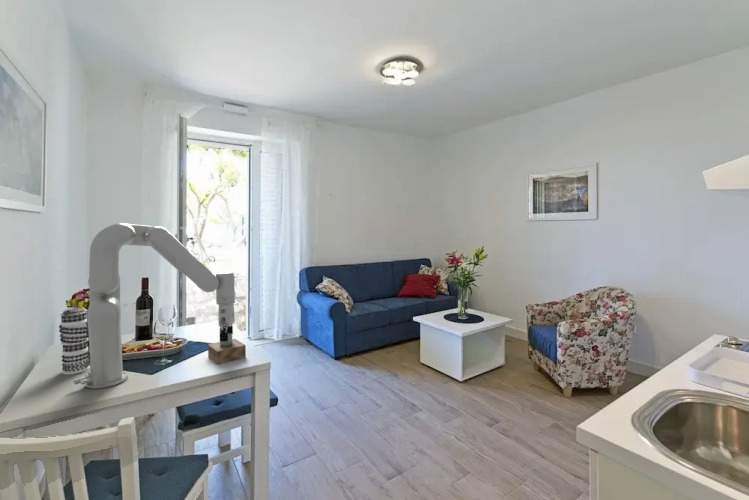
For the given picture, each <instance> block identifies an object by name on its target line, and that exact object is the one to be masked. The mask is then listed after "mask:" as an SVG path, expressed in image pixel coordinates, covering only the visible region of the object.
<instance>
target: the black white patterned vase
mask: <svg viewBox="0 0 749 500" xmlns="http://www.w3.org/2000/svg"><path fill="white" fill-rule="evenodd" d="M87 311H88V310H85V309H84V308H82V307H73V308H68V309H67V308H66V309H64V310H63V312H62V313H60V318H61V319H60V324H59V325H58V328H59V330H58V331H59V333H60V335H59V338H60V339H59V340H60V342H61V343H60V345H62V350H61V351H62V352H61V353H62V354H61V358H62V359H61V362H62V364H61V366H62V374H63V375H75V374H79V373H80V374H81V373H83V372H86V371H88V370H90V350H89V346H88V342H89V333H88V322H87ZM87 333H88V334H87Z"/></svg>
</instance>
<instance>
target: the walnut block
mask: <svg viewBox="0 0 749 500" xmlns="http://www.w3.org/2000/svg"><path fill="white" fill-rule="evenodd" d="M232 341H233V344H232V345H231V346H227V347H221V346H220V341H218V342H214V343H209V344H207V352H208V353H207V356H208V358H209V359H211V360H212V361H213V362H214V363H215V364H217V365H221V364H222V365H223V364H227V363H230V362H233V361H234V362H235V361H238V360H242V359H245V358H247V356H246V355H247V354H246V351H247V349H246V344H245V343H243V342H241V341H239V340H238V339H236V338H232Z"/></svg>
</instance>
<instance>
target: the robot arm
mask: <svg viewBox="0 0 749 500" xmlns="http://www.w3.org/2000/svg"><path fill="white" fill-rule="evenodd" d="M124 246H139V247H140V246H141V247H151V248H152V249H153V250H154V251H156V252H157V254H159V255H160V256H161V257H162V258H163V259H164V260H166V261H167V262H168V263H169V264H170V265H171V266H173V268H175V269H176V270H177V271H179V272H181V273H182V274H184V275H185V276H186V277H187V278H188V279H190V281H192V282H193V284H195V285H196V287H197V288H199V290H201V291H203V292H204V293H212V292H214V291H215V296H216V297H215V302H216V305H218V310H217V311H218V313H217V314H218V315H217V317H218V320H217V321H218V328H219V342H225V341H228V333H232V335H233V334H234V329H233V328H234V326H233V324H234V323H235V322H236V321H235V320H236V317H235V307H234V304H235V301H236V296H235V295H236V294H235V291H236V290H235V289H236V288H235V287H236V286H235V273H234V272H233V271H220V272H212V271H211V270H210V269H209V268H208V267H207V266H205V265H204V264H203V263H202V262H201V261H200V260H199V259H198V258H197V257H196V255H194V254H193V253H192V252H191V251H190V250H189V249H188V248H187V247H185V245H184V244H183V243H182V242H180V241H179V239H177V238H176V237H175V236H174V235H173V234H172V233H171V232H170V231H169V230H168V229H166V228H165V227H163V226H160V225H143V224H133V223H132V224H131V223H125V222H117V223H114V224H111V225H109V226H107V227H105V228H103V229H101V230H100V231H99V232H97V234H96V235H95V236H94V237H93V239H92V241H91V244H90V249H89V265H88V267H89V268H88V269H89V272H88V281H87V283H88V287H89V289H88V290H89V305H88V308H87V310H86V311H87V312H86V318H87V322H88V324H87V326H88V329H87V330H88V335H89V337H88V339H89V340H88V343H89V346H88V351H89V359H90V361H89V363H90V365H89V366H90V368H89V370H90V371H88V372H87V374H86V375H84V376H82V377H77V378H74V379H73V384H74V385H79V384H81V385H85V387H86V388H88V389H95V390H96V389H97V390H98V389H104V388H109V387H114V386H116V385H119V384H121V383H124V382H125V381H126V380H127V379H128V378H129V374H128V373H127V372H126V371H124V370H123V369H124V368H123V347H122V345H123V344H122V325H121V323H122V322H121V320H122V319H121V316H122V315H121V312H122V311H121V310H122V309H121V275H120V273H119V272H120V271H119V268H120V267H119V261H120V260H119V259H120V250H121V249H122V248H123V247H124Z"/></svg>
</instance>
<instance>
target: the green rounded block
mask: <svg viewBox="0 0 749 500" xmlns="http://www.w3.org/2000/svg"><path fill="white" fill-rule="evenodd" d="M232 339H233V334H232V333H228V341H225V342H220V341H219V342H220V346H221V347H227V346H231V345H232V344H233V341H232Z"/></svg>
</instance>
